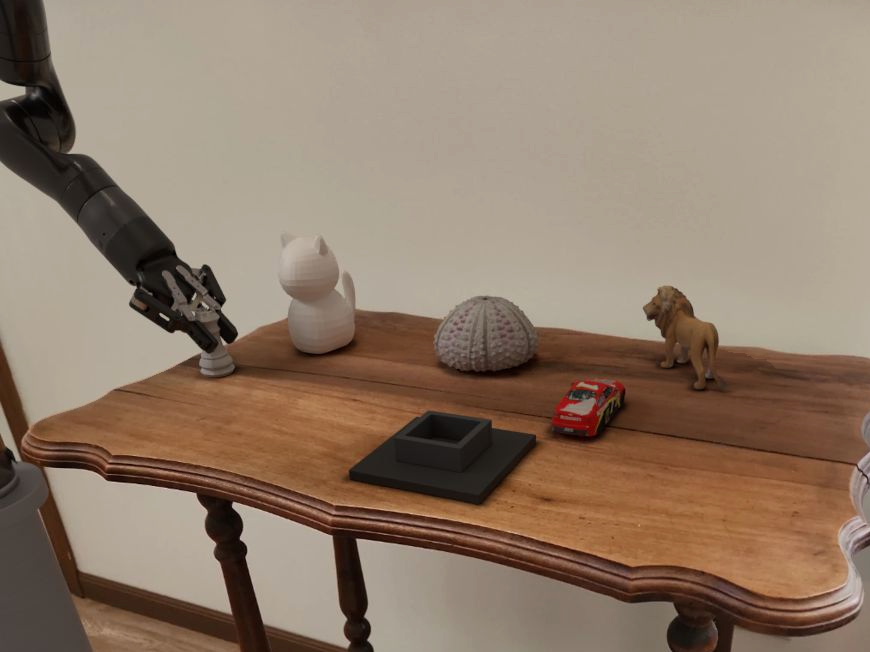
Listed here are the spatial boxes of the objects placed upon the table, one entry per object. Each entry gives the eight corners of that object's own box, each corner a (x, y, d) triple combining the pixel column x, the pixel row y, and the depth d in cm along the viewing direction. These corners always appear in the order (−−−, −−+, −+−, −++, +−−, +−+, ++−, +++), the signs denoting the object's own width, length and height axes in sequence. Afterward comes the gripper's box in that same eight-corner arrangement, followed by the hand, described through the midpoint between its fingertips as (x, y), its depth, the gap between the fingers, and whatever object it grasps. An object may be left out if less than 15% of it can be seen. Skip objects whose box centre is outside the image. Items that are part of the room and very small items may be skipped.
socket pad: (479, 504, 73) (478, 469, 71) (349, 479, 79) (344, 446, 77) (536, 443, 83) (536, 411, 81) (417, 424, 89) (414, 394, 87)
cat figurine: (274, 354, 111) (253, 237, 102) (331, 328, 119) (316, 218, 111) (325, 364, 107) (307, 242, 98) (380, 336, 115) (368, 222, 106)
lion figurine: (633, 359, 102) (639, 285, 97) (668, 351, 104) (675, 278, 99) (707, 397, 91) (719, 315, 86) (745, 387, 93) (759, 307, 88)
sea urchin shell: (414, 363, 105) (410, 299, 101) (491, 338, 112) (490, 277, 107) (483, 388, 97) (481, 320, 92) (561, 359, 103) (563, 295, 99)
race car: (585, 394, 94) (586, 360, 92) (630, 400, 92) (633, 365, 89) (542, 437, 84) (543, 400, 82) (592, 445, 82) (594, 408, 80)
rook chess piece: (231, 377, 104) (218, 314, 100) (197, 379, 104) (182, 316, 100) (238, 365, 108) (226, 304, 103) (205, 367, 108) (191, 306, 103)
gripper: (92, 226, 93) (198, 342, 95) (176, 203, 103) (271, 309, 105) (74, 271, 98) (175, 381, 100) (156, 246, 108) (246, 345, 111)
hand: (223, 343), depth 103 cm, fingers closed on rook chess piece, 3 cm apart
